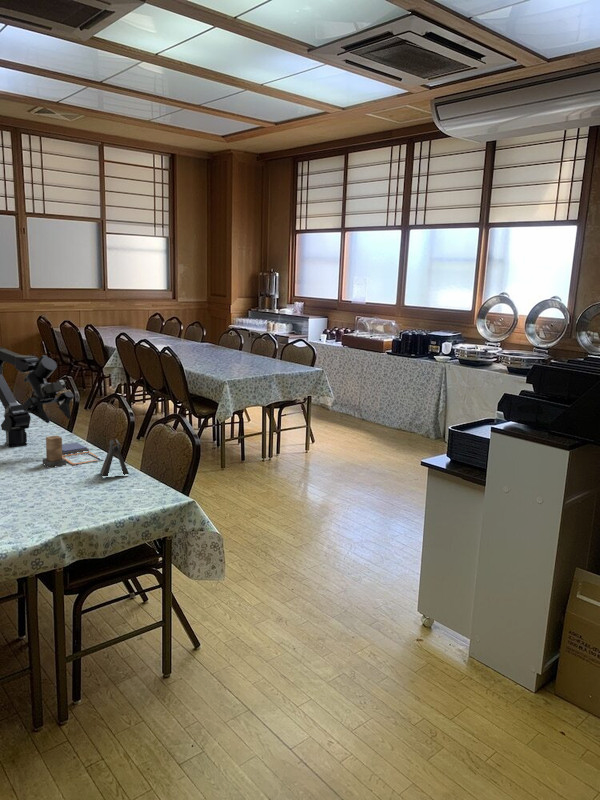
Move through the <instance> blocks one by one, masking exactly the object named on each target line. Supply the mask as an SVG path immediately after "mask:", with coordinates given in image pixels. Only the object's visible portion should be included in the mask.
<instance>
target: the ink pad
mask: <svg viewBox="0 0 600 800" xmlns="http://www.w3.org/2000/svg"><path fill="white" fill-rule="evenodd" d="M83 451H89V452H90V449H89V448H88V447H87V446H84V445H82V444H81V443H79V442H71V443H70V442H69V443H64V444H63V443H62V454H63V455H65V454H68V455H69V454H71V453H77V452H81V453H82V452H83Z"/></svg>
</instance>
